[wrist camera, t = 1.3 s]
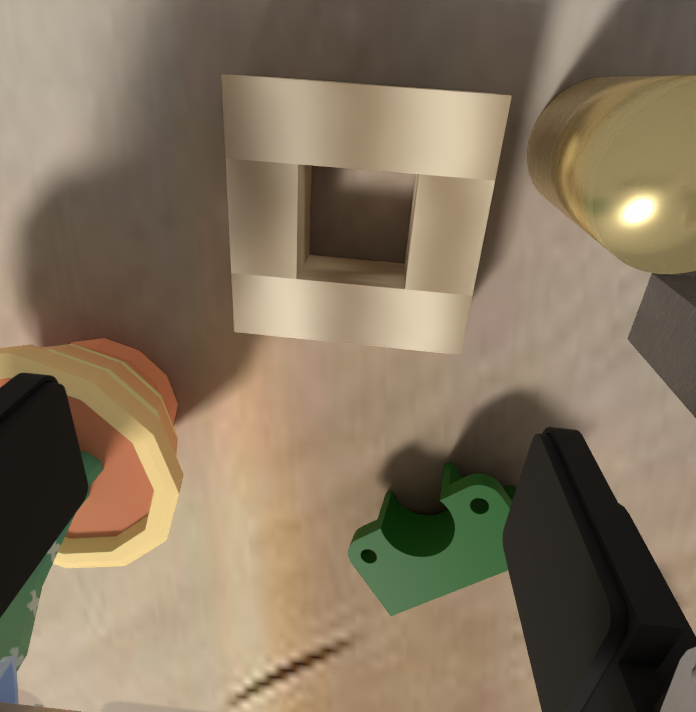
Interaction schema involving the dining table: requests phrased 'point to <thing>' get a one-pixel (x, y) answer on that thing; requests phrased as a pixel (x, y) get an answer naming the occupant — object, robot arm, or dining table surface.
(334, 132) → the socket block
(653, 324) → the square bit
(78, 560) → the potted cactus
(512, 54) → the dining table surface
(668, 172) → the round bit
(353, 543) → the clamp
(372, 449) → the dining table surface
